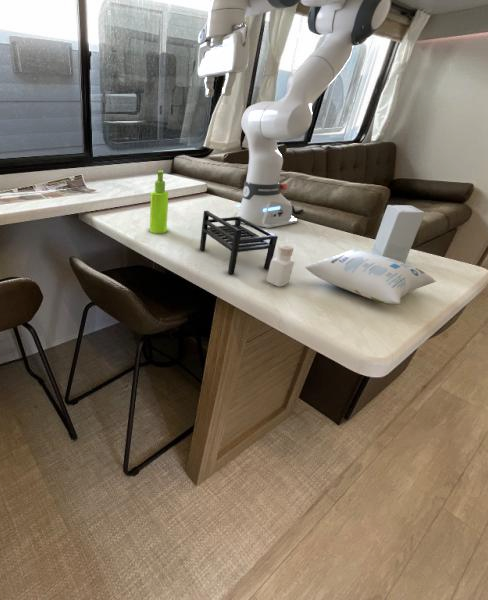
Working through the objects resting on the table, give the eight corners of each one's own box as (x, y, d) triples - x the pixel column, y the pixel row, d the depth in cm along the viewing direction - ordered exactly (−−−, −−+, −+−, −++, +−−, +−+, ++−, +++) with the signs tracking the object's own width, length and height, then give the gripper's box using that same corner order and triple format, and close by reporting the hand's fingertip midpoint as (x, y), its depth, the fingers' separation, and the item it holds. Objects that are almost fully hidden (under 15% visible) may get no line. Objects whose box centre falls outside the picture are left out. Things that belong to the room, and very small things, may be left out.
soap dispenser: (166, 227, 118) (169, 168, 107) (166, 233, 112) (169, 172, 102) (150, 226, 118) (151, 168, 108) (149, 233, 112) (151, 172, 102)
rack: (234, 245, 101) (240, 207, 95) (270, 269, 87) (280, 226, 80) (199, 249, 99) (203, 210, 93) (229, 275, 84) (237, 230, 78)
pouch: (446, 264, 70) (351, 235, 84) (407, 290, 61) (308, 253, 76) (428, 295, 74) (341, 262, 88) (388, 323, 66) (299, 282, 80)
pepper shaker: (289, 283, 79) (299, 247, 75) (278, 288, 78) (288, 251, 73) (275, 277, 82) (284, 242, 78) (265, 281, 81) (273, 245, 76)
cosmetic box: (402, 268, 86) (428, 213, 79) (376, 265, 88) (399, 211, 80) (391, 256, 93) (414, 204, 85) (367, 254, 95) (387, 203, 87)
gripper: (261, 19, 70) (249, 95, 77) (217, 37, 87) (210, 97, 94) (235, 18, 69) (226, 95, 76) (195, 36, 86) (190, 97, 93)
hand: (217, 96), depth 85 cm, fingers open, 8 cm apart
